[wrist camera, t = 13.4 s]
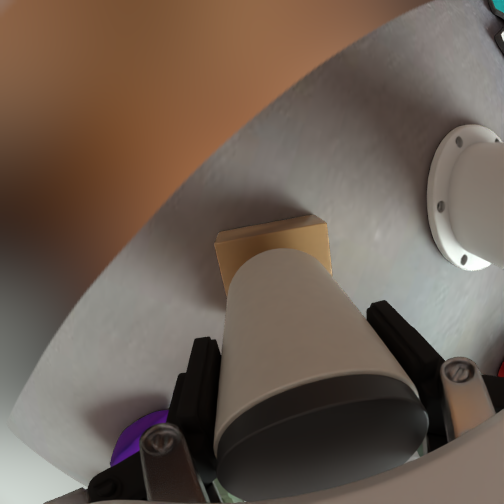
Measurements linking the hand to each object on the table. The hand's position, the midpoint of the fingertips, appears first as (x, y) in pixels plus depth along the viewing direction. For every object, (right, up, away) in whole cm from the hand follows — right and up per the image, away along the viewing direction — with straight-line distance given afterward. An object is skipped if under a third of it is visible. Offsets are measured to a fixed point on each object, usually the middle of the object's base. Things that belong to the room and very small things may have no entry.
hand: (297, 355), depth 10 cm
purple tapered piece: (-13, -15, +14) cm, 24 cm away
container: (0, +1, +5) cm, 5 cm away
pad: (0, +3, +9) cm, 10 cm away
